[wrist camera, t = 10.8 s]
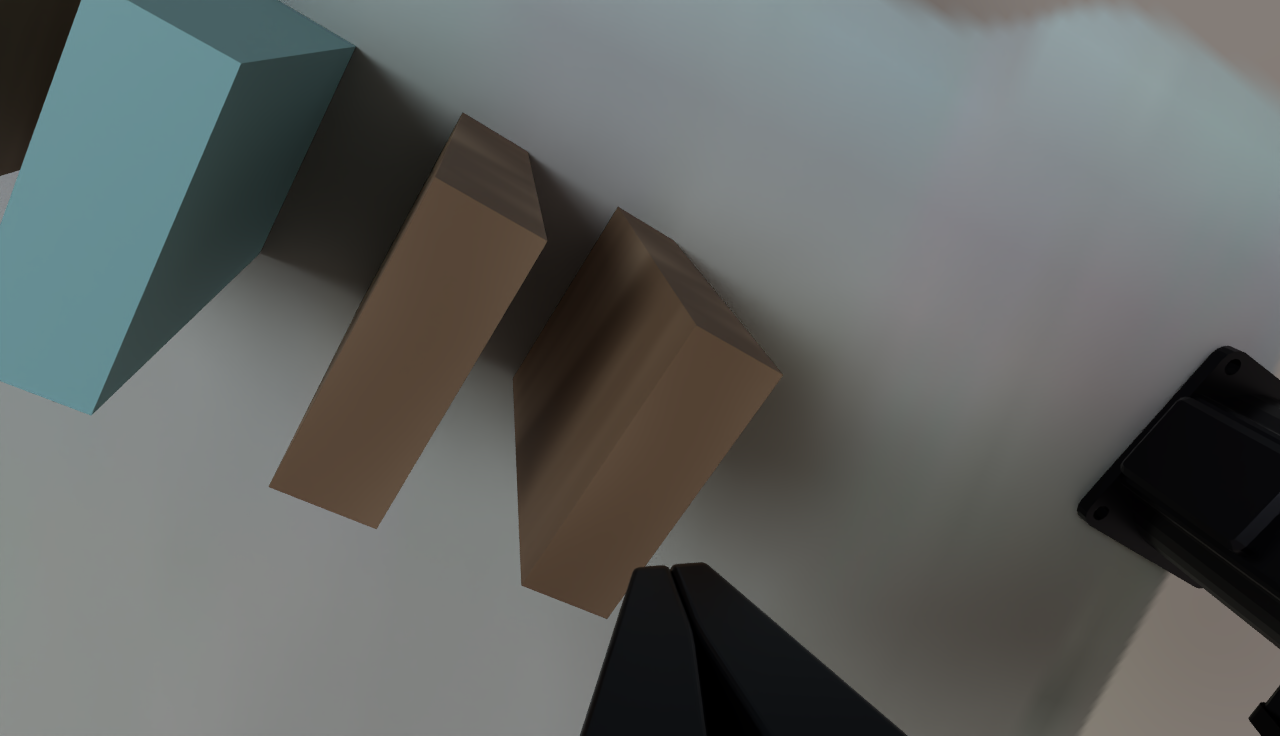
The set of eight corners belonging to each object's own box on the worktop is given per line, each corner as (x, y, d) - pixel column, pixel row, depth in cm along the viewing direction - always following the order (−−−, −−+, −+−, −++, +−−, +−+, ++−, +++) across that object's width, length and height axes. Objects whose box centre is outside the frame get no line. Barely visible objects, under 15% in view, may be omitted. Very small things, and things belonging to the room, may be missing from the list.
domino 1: (527, 151, 17) (547, 241, 10) (424, 335, 19) (377, 528, 12) (462, 112, 17) (434, 176, 10) (360, 303, 18) (269, 487, 11)
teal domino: (355, 46, 16) (240, 63, 9) (259, 253, 17) (91, 415, 10) (278, 0, 16) (89, -22, 8) (185, 217, 17) (-49, 362, 10)
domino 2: (673, 240, 19) (783, 374, 12) (567, 405, 20) (607, 618, 13) (617, 206, 18) (696, 325, 11) (512, 378, 20) (521, 585, 12)
